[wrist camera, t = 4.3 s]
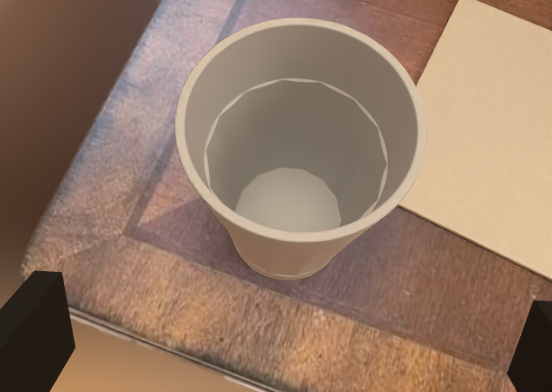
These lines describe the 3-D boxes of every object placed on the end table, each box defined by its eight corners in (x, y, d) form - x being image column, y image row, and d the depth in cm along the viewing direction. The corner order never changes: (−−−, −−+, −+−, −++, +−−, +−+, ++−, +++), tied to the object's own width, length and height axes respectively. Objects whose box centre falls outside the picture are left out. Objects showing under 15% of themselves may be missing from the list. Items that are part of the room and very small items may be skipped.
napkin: (364, 189, 27) (365, 187, 26) (460, -3, 31) (461, -6, 31) (639, 324, 24) (643, 323, 24) (696, 94, 29) (700, 91, 29)
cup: (383, 208, 26) (471, 94, 15) (305, 326, 24) (339, 297, 13) (270, 135, 28) (271, -20, 16) (186, 240, 25) (121, 145, 14)
